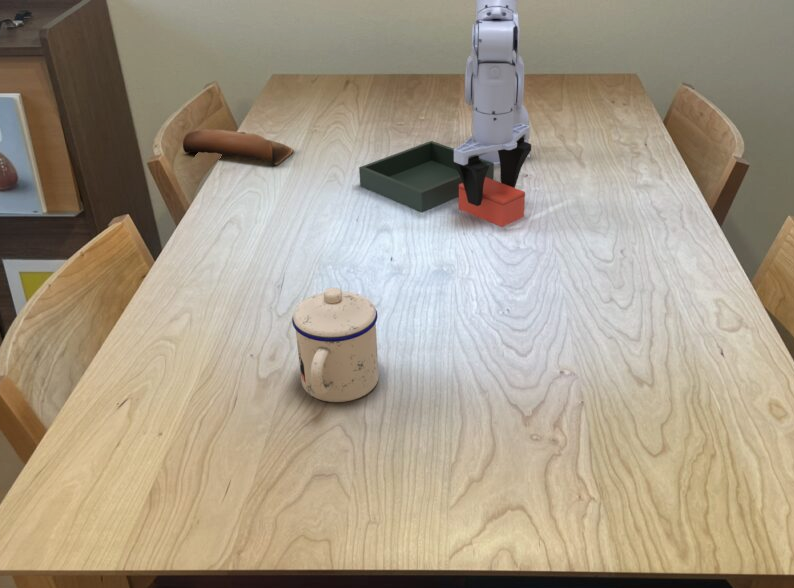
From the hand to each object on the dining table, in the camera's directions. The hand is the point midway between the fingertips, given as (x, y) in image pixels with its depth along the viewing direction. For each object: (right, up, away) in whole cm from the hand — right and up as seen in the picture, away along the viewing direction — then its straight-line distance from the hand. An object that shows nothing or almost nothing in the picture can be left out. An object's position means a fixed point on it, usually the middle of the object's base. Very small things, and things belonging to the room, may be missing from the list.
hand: (491, 195), depth 133 cm
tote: (-10, +3, +11) cm, 15 cm away
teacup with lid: (-19, -28, -35) cm, 48 cm away
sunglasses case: (-44, +11, +23) cm, 50 cm away
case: (0, -3, +2) cm, 3 cm away
